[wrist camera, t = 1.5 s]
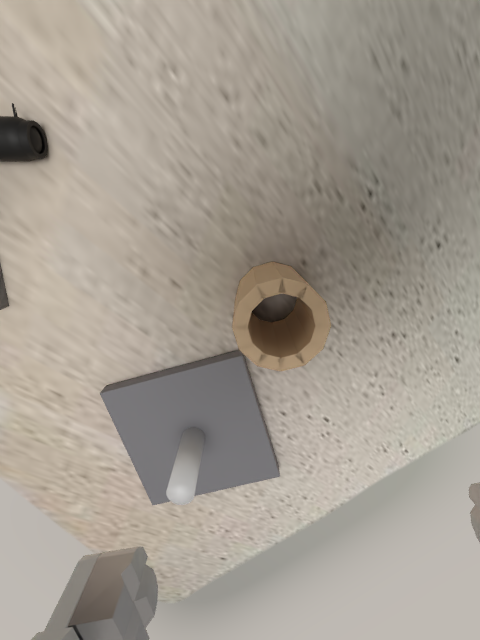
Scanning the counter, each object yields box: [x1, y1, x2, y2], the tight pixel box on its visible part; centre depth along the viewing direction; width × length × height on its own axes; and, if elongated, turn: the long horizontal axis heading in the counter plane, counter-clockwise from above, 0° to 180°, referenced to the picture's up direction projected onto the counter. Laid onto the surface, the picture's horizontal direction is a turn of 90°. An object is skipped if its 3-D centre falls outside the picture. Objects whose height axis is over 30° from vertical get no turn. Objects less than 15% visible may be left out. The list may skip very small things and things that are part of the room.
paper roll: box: [232, 262, 331, 371], centre depth 26 cm, size 6×6×8 cm
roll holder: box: [100, 350, 280, 505], centre depth 30 cm, size 14×14×8 cm
